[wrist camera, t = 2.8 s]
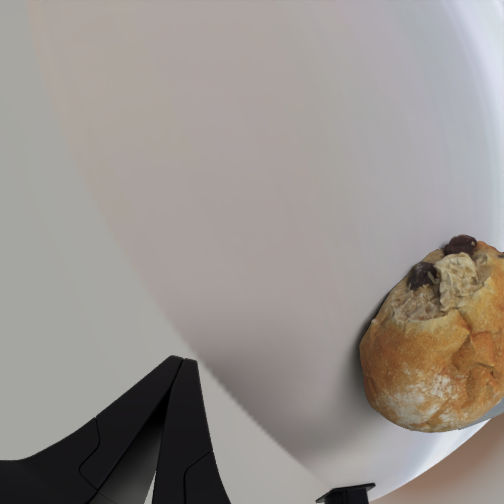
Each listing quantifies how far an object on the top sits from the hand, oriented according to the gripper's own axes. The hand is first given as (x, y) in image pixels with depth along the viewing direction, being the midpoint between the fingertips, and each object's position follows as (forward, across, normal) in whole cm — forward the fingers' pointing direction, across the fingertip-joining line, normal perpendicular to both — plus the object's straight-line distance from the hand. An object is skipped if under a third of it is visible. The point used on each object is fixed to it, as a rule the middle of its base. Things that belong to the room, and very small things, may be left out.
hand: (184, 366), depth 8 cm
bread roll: (+4, -12, 0) cm, 13 cm away
